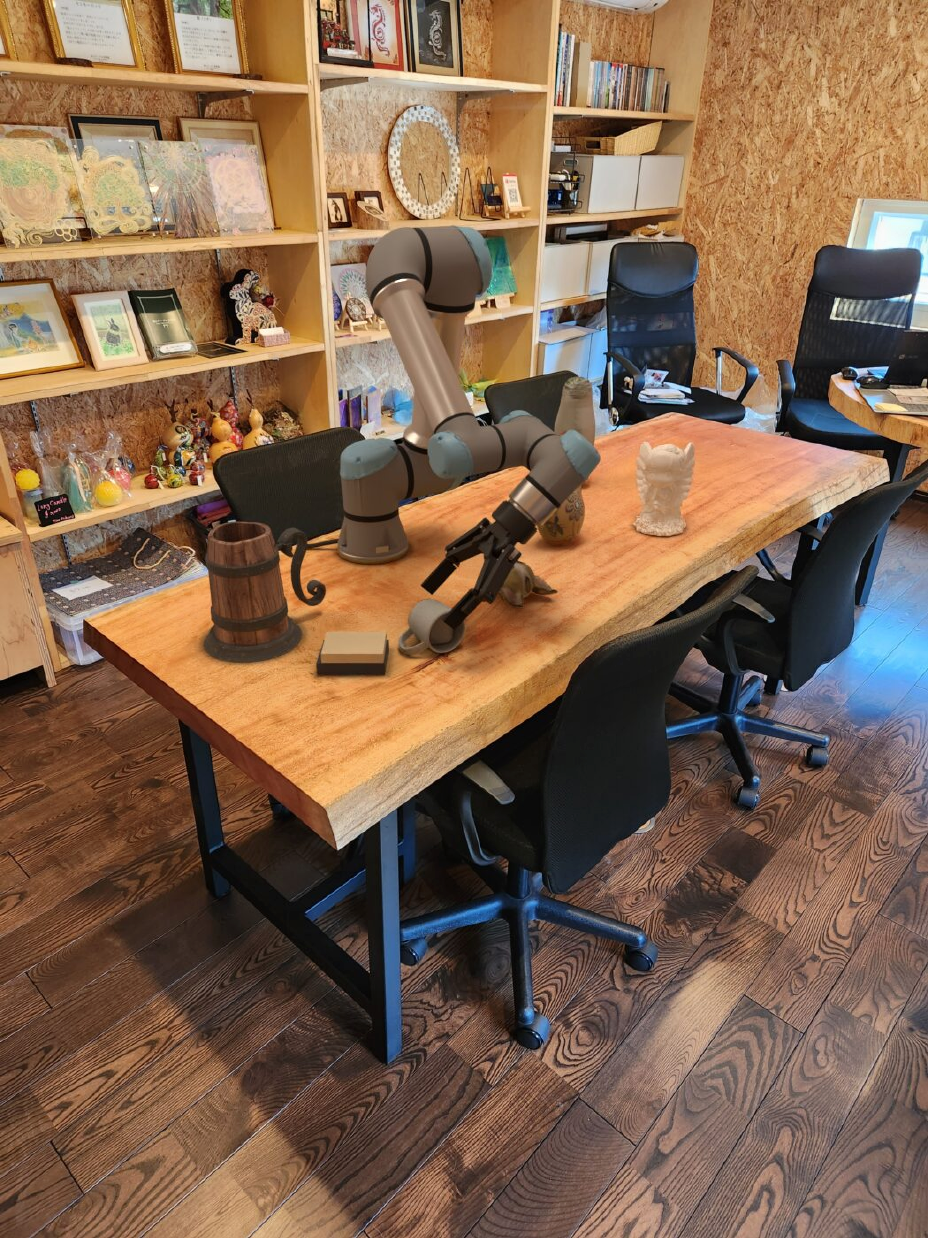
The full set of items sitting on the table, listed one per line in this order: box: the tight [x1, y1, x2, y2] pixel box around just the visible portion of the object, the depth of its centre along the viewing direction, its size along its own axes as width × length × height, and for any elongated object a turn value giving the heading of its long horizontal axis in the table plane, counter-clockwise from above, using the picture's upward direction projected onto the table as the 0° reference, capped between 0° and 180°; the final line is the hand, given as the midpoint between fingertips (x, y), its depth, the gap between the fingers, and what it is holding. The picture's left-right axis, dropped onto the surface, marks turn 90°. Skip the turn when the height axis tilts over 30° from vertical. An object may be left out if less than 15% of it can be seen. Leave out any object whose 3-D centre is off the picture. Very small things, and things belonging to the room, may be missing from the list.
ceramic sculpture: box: [497, 559, 559, 609], centre depth 157 cm, size 11×9×15 cm
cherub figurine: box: [632, 441, 696, 537], centre depth 187 cm, size 13×12×20 cm
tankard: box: [203, 521, 327, 664], centre depth 142 cm, size 24×17×20 cm
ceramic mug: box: [397, 598, 466, 656], centre depth 140 cm, size 11×8×8 cm
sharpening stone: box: [315, 631, 390, 676], centre depth 136 cm, size 11×8×4 cm
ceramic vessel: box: [536, 431, 586, 547], centre depth 177 cm, size 16×9×25 cm, turn 132°
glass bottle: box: [553, 376, 596, 485], centre depth 211 cm, size 10×10×28 cm
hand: (436, 607), depth 139 cm, fingers open, 13 cm apart
